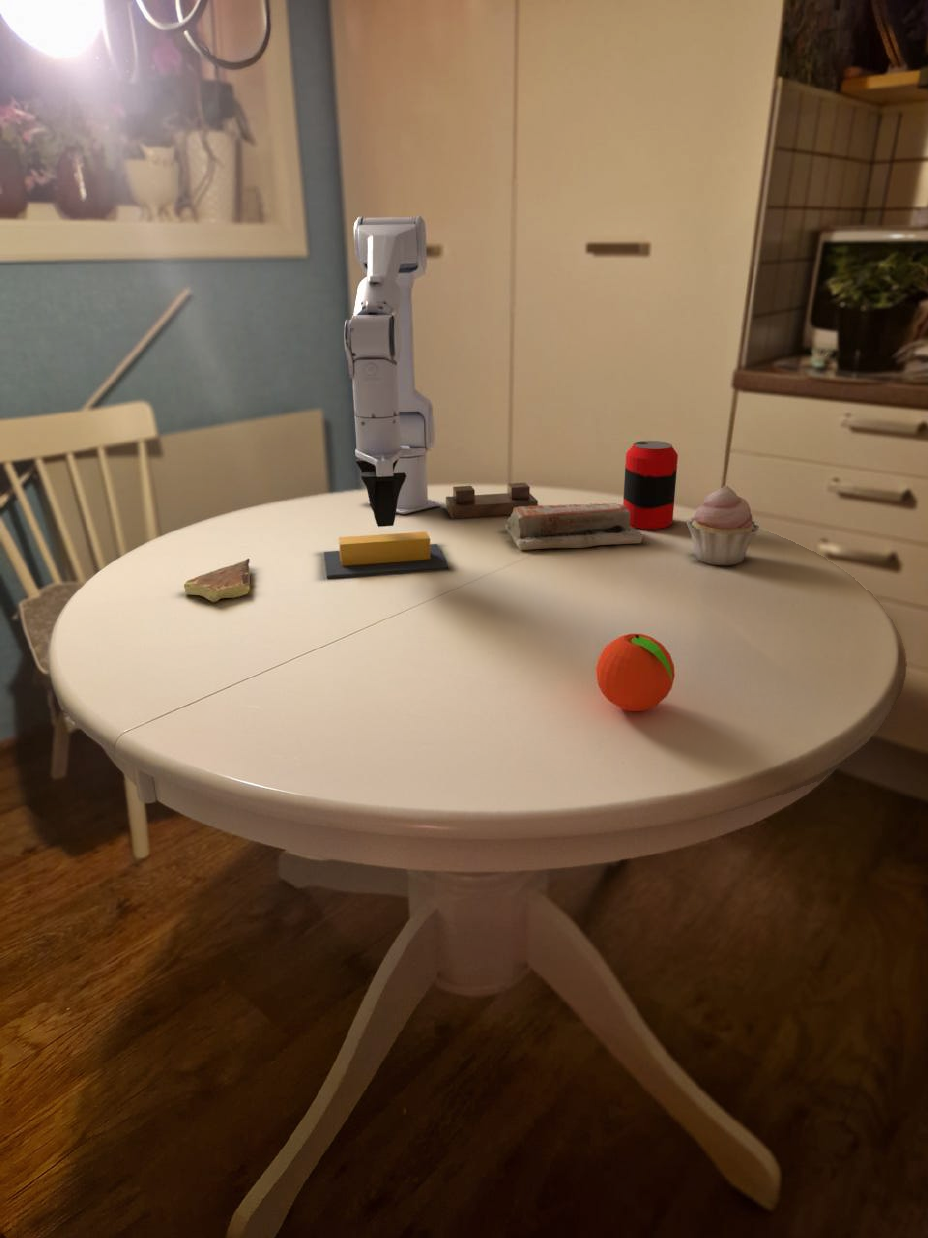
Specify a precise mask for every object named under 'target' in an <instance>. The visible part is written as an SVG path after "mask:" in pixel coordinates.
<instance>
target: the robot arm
mask: <svg viewBox="0 0 928 1238" xmlns="http://www.w3.org/2000/svg"><path fill="white" fill-rule="evenodd" d="M353 247H354V254H355V258H356V260H357V262H358V264H359V266H360V268H361V270H362V272H363V273H364V276H366V277H364V278H363V279H362V280H361V281H360V282H359V284H358V286H357V289H356V297H355V301H354V309H353V314H352V316H351V319H346V320H345V323H344V329H343V338H344V339H343V340H344V341H343V342H344V350H345V354H346V359H347V364H348V365H347V366H348V374H349V379H352V396H353V397H352V398H353V413H354V427H355V429H354V430H355V444H356V445H355V447H356V448H355V449H354V451H355V452H354V453H355V457H357V458H355V463H356V465H357V466H358V468H359V470H360V473H359V474H360V475H359V476H360V478H361V480H362V482H363V484H364V486H365V487H366V492H367V495H368V503H367V504H368V505H370V507H371V510H372V512H373V517H374V519H375V520H374V521H375V524H376V526H377V527H378V528H381V527H382V528H383V527H394V525H395V520H396V515H397V514H400V515H407V514H410V513H415V512H419V511H422V510H426V509H430V508H433V507H439V506H440V502H438V501H435V500H431V499H429V493H428V491H429V490H428V462H427V461H428V458H427V453H428V452H429V451H432V449H433V448H434V447H435V441H436V436H435V435H436V428H435V427H436V426H435V416H434V405H433V403H432V400H431V399H429V398H428V397H427V396H425V395H424V394H422V393H421V392H419V391H418V390H417V389H416V380H415V379H416V377H415V376H416V375H415V355H414V354H415V353H414V352H415V351H414V326H413V323H414V322H413V299H412V297H413V296H412V292H413V287H414V283H415V280H417V279H418V278H420V277H423V276H425V275H426V270H427V265H428V264H427V263H428V262H427V228H426V221H425V219H424V218H422V216H421V215H416V216H402V217H401V216H399V217H398V216H397V217H395V216H393V217H364V216H358V217H357V219H356V220H355V221H354V225H353Z"/></svg>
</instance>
